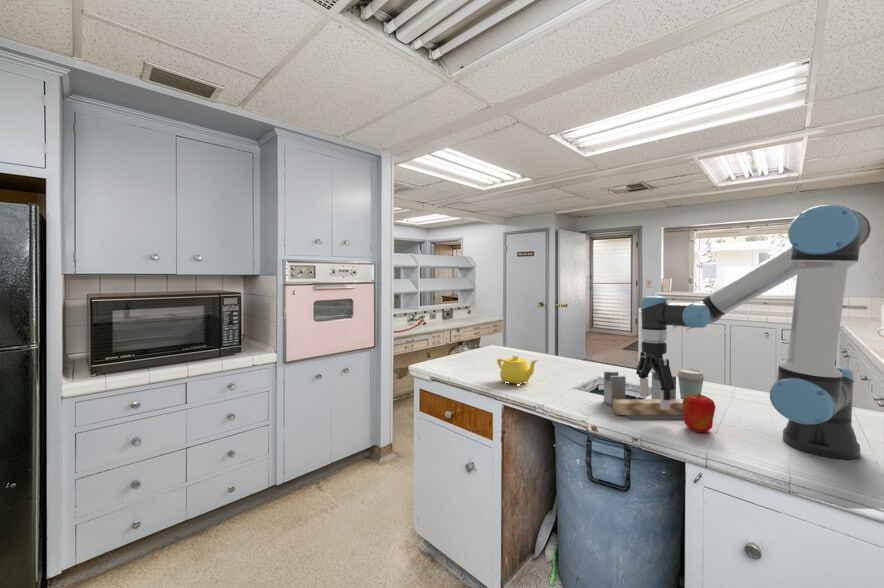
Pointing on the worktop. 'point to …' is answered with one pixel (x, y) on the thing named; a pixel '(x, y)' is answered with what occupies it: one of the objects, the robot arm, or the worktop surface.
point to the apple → (698, 412)
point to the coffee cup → (690, 382)
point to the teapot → (516, 369)
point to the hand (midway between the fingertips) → (654, 402)
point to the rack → (617, 385)
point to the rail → (646, 407)
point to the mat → (655, 417)
